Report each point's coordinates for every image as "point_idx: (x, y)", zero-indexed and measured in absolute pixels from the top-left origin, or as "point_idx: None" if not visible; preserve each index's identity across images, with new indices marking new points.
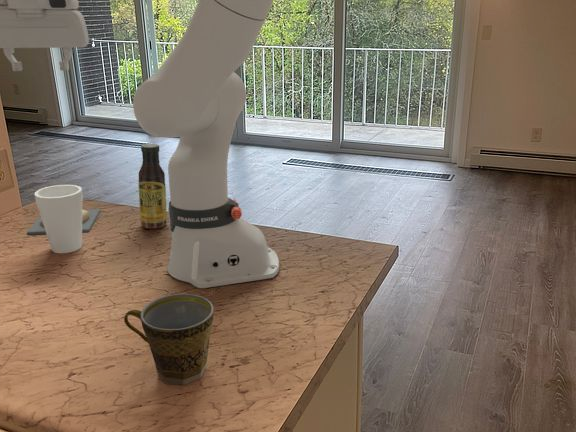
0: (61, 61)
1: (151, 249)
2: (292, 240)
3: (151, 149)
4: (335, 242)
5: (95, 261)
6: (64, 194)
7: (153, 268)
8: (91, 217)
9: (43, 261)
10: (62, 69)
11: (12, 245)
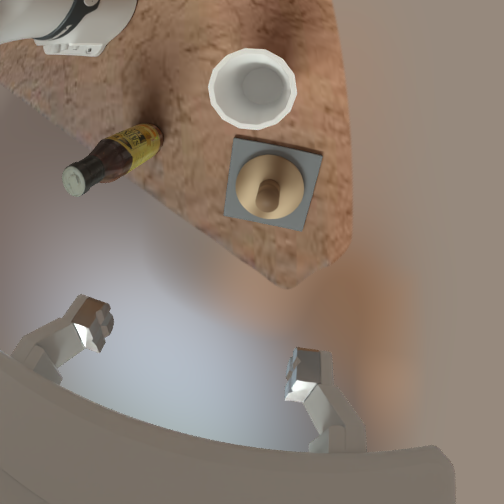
0: (89, 340)
1: (151, 57)
2: (29, 79)
3: (71, 164)
4: (8, 76)
5: (220, 31)
6: (248, 119)
7: (151, 6)
8: (233, 185)
9: (291, 48)
10: (97, 300)
11: (339, 120)
